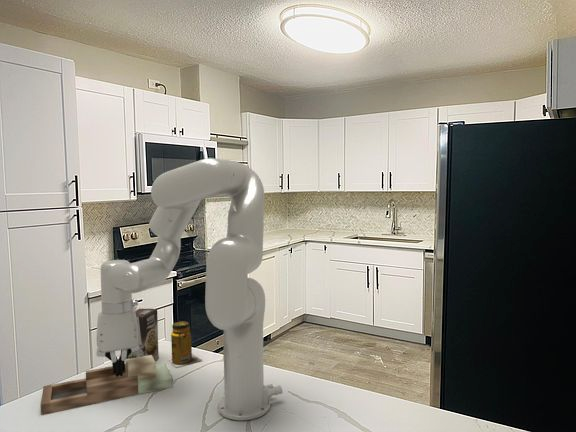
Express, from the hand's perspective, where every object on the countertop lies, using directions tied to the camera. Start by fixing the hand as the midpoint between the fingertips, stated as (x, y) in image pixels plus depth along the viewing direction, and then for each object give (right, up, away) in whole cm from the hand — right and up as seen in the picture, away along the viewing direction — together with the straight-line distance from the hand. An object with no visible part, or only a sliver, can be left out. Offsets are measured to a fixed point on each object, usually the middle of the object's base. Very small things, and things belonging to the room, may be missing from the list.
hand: (118, 374), depth 115 cm
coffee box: (+1, -3, +17) cm, 17 cm away
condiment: (+13, -3, +19) cm, 23 cm away
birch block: (+5, -1, +3) cm, 6 cm away
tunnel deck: (-2, -4, -1) cm, 4 cm away
